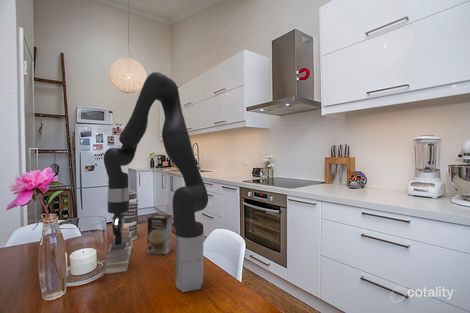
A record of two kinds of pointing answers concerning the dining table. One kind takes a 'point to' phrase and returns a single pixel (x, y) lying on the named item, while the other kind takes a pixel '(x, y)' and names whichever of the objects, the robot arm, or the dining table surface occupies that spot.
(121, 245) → the charcoal plunger
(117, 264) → the button board
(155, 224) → the coffee box
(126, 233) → the terracotta plunger
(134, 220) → the decorative candle
